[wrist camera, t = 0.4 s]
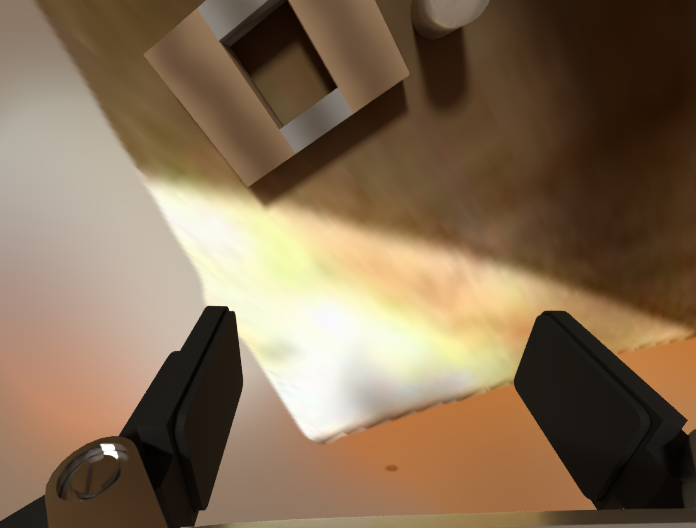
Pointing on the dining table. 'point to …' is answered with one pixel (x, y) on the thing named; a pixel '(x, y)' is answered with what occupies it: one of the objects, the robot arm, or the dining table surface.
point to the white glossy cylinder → (444, 15)
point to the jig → (244, 96)
